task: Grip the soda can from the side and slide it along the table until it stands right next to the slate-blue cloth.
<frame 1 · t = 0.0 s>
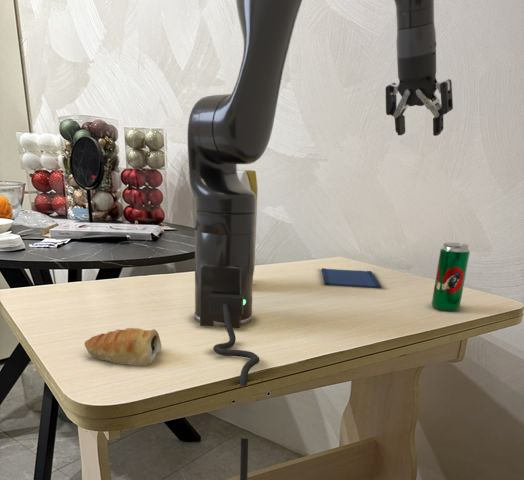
hand: (419, 134, 113), 31 cm above the table, tool tilted 20°, fingers open, 8 cm apart
soda can: (444, 309, 98), on the table
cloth: (349, 278, 120), on the table
pastry: (127, 358, 68), on the table
juice carton: (229, 286, 108), on the table
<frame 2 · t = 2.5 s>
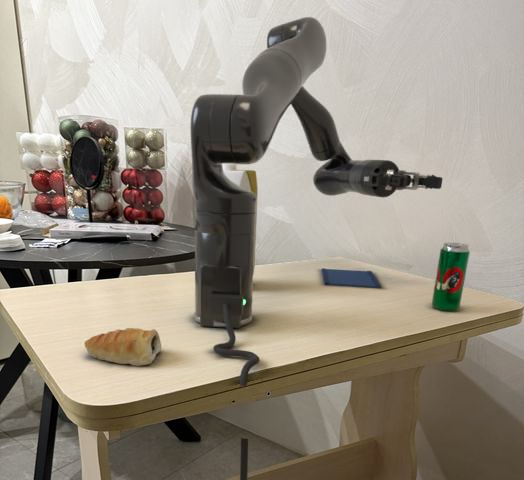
hand: (423, 182, 100), 22 cm above the table, tool horizontal, fingers open, 8 cm apart
nothing on the table moved.
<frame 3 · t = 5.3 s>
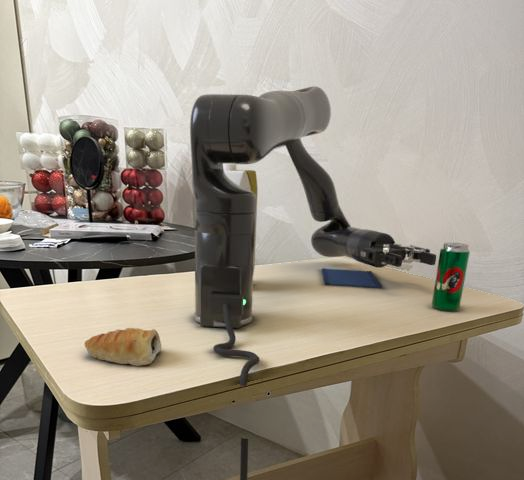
hand: (417, 260, 104), 7 cm above the table, tool horizontal, fingers open, 8 cm apart
nothing on the table moved.
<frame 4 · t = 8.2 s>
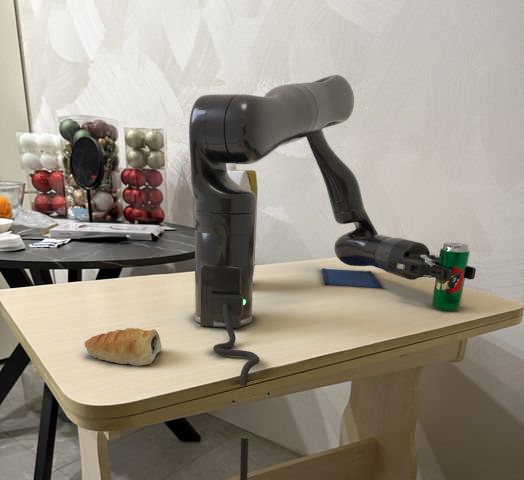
hand: (461, 274, 94), 7 cm above the table, tool horizontal, fingers closed on soda can, 5 cm apart
soda can: (444, 309, 98), on the table, touching gripper
everything else where it was.
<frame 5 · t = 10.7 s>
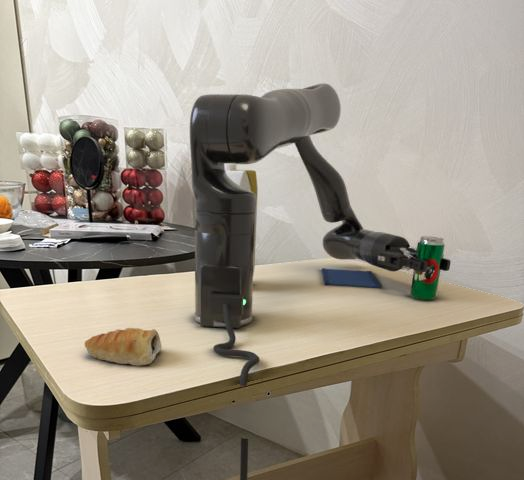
hand: (437, 266, 100), 7 cm above the table, tool horizontal, fingers closed on soda can, 5 cm apart
soda can: (422, 298, 105), on the table, touching gripper
everything else where it was.
when the fingers open (7 cm above the table, at t = 13.1 s): soda can stays where it is, on the table.
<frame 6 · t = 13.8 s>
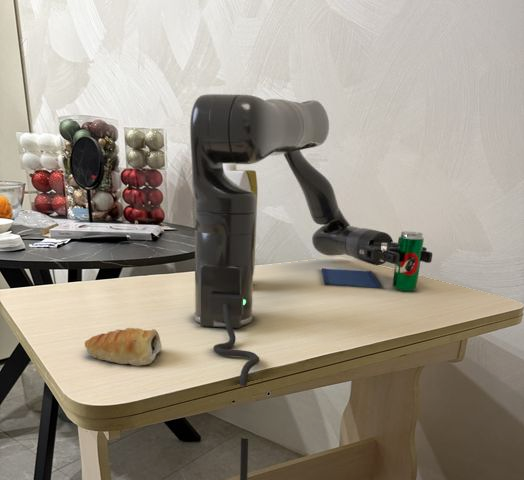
hand: (414, 258, 108), 7 cm above the table, tool horizontal, fingers open, 8 cm apart
soda can: (403, 290, 112), on the table
everything else where it was.
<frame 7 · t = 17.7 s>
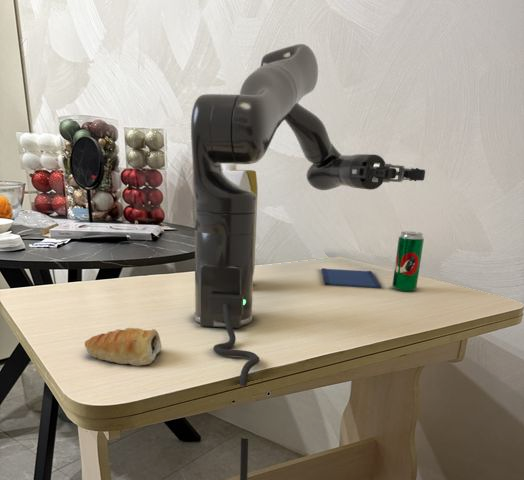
hand: (407, 174, 107), 23 cm above the table, tool horizontal, fingers open, 8 cm apart
nothing on the table moved.
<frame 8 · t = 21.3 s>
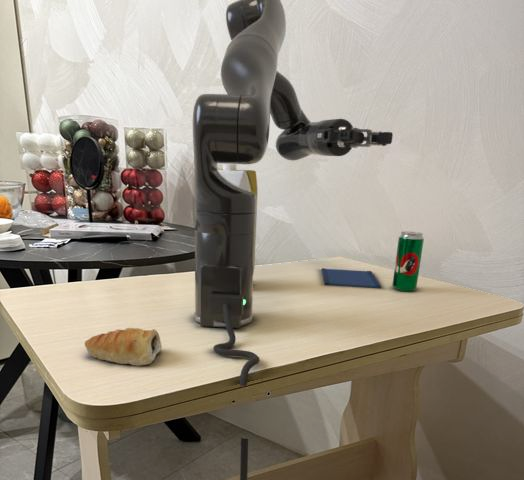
hand: (373, 136, 102), 30 cm above the table, tool horizontal, fingers open, 8 cm apart
nothing on the table moved.
at the end: soda can inside the target area on the table beside the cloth (1.3 cm from its centre), on the table; soda can tilted 0°; the gripper is holding nothing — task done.
